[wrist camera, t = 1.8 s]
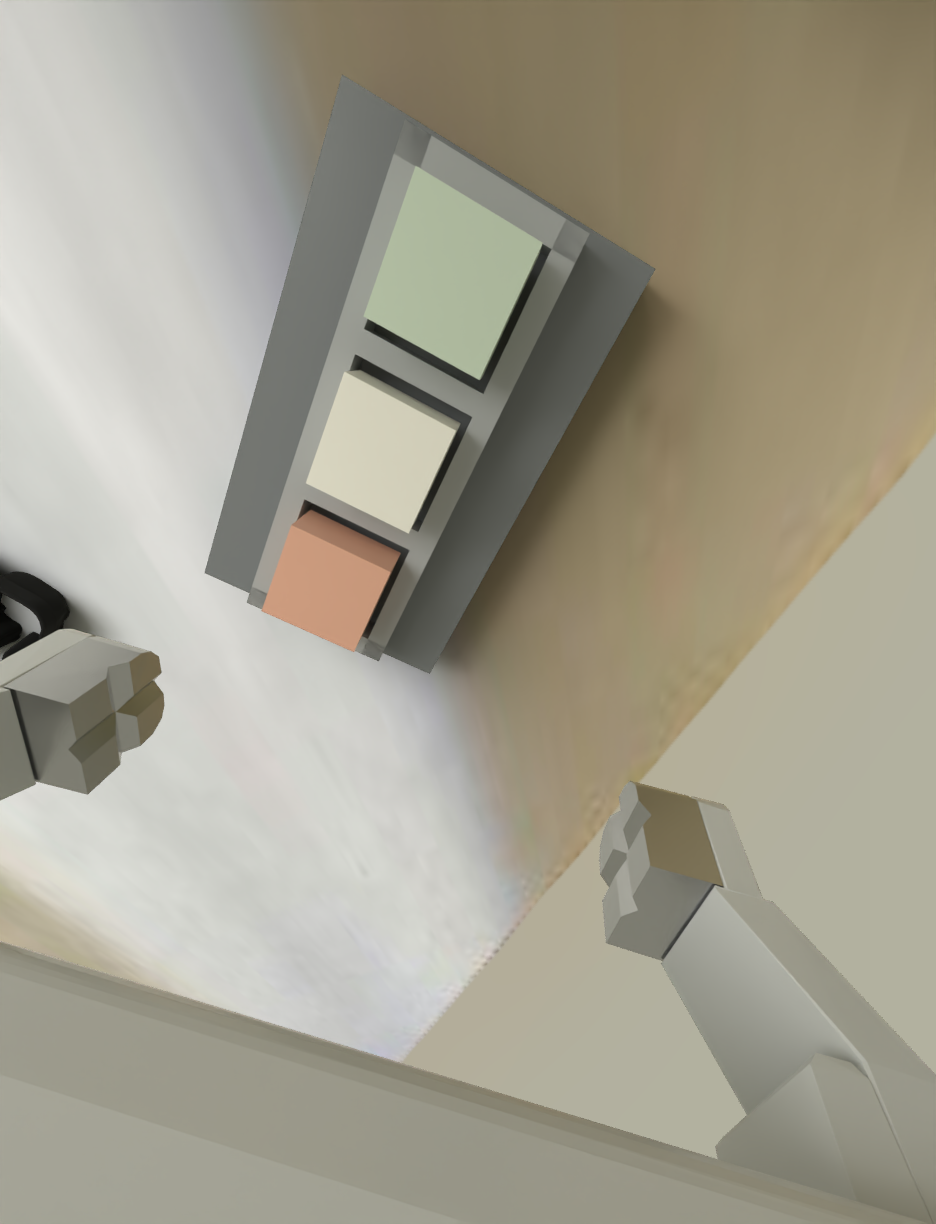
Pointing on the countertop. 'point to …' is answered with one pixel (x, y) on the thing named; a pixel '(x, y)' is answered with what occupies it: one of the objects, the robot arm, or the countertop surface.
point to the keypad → (416, 375)
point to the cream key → (381, 450)
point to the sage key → (451, 275)
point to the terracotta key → (329, 579)
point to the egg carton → (38, 600)
